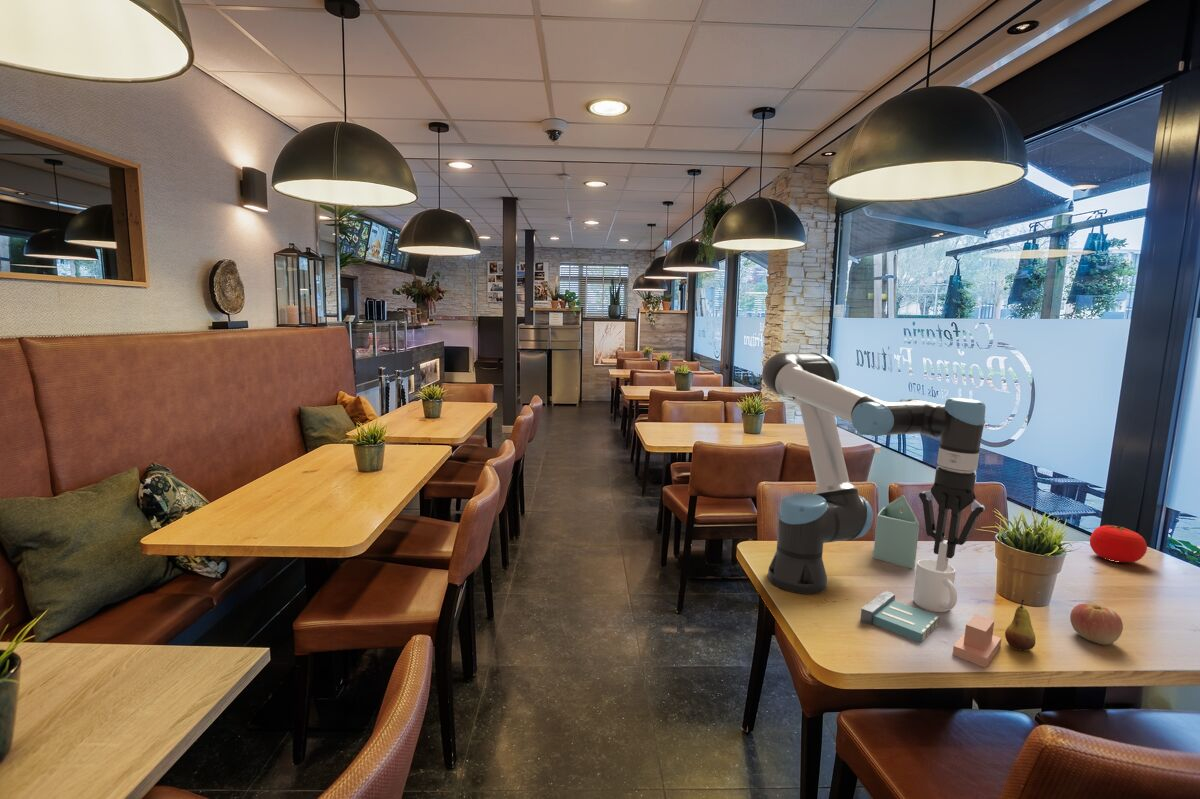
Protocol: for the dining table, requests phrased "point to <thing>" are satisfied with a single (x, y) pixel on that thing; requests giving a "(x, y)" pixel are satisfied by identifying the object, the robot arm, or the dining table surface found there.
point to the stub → (978, 641)
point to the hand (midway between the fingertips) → (941, 569)
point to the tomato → (1118, 543)
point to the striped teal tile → (906, 620)
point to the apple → (1096, 623)
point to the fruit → (1020, 630)
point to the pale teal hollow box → (896, 534)
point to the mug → (934, 587)
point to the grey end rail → (876, 606)
